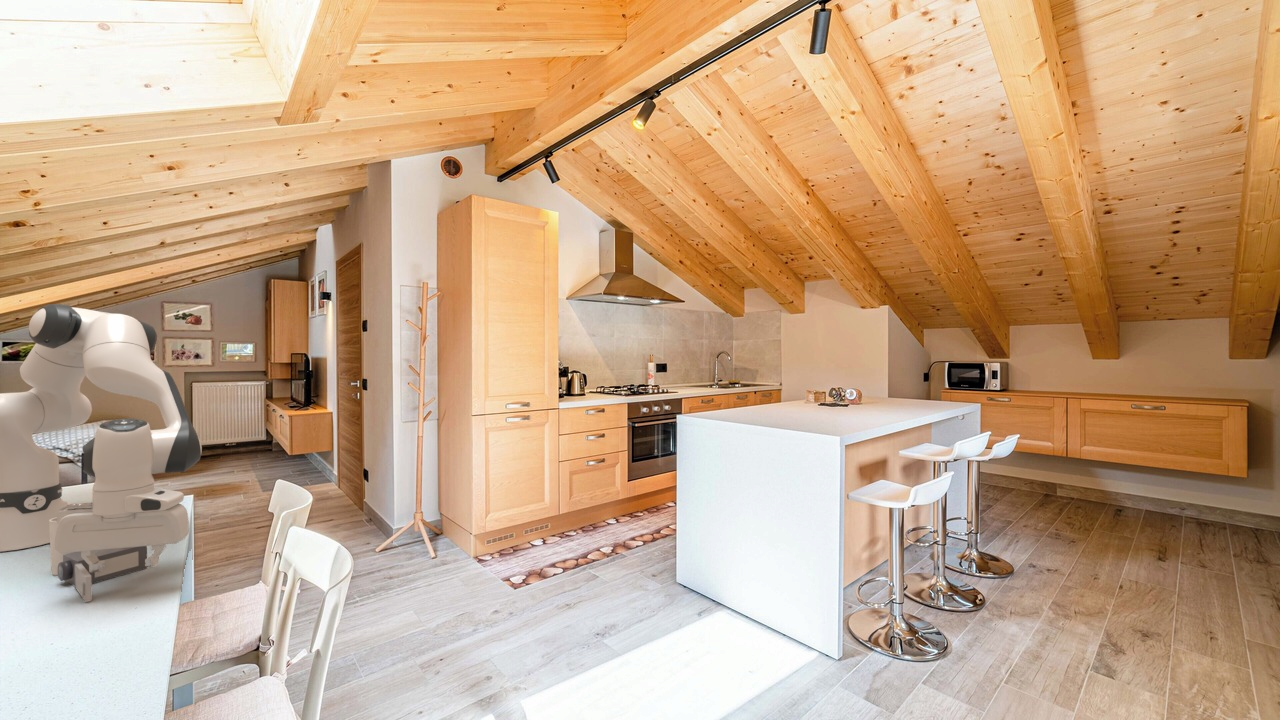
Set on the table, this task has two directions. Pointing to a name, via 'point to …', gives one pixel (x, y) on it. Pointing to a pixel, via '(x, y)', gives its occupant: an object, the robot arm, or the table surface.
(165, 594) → the table surface
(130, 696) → the table surface
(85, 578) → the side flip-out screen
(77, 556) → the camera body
